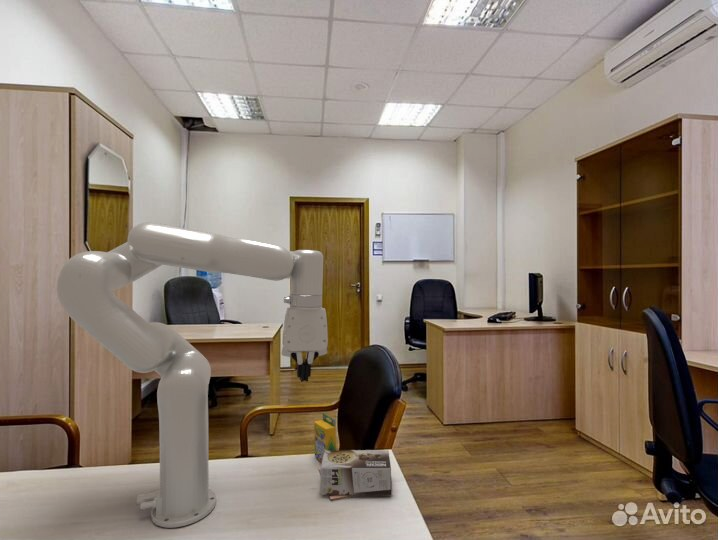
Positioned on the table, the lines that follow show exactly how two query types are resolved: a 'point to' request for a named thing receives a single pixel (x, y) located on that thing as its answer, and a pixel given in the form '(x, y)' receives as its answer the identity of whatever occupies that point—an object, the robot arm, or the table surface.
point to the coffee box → (356, 472)
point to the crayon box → (324, 436)
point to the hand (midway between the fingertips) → (303, 379)
